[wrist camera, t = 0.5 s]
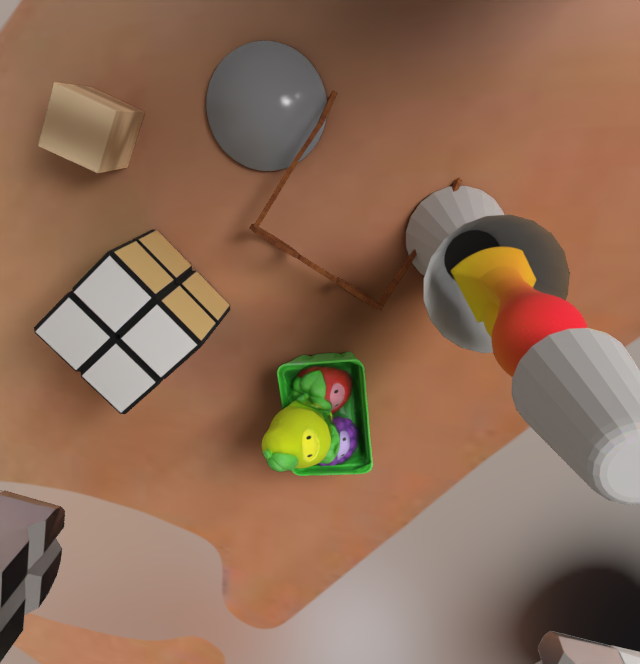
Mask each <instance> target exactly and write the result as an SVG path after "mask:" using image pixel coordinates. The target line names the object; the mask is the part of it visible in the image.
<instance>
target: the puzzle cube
mask: <svg viewBox="0 0 640 664" xmlns="http://www.w3.org/2000/svg"><path fill="white" fill-rule="evenodd" d="M189 272H190V273H189ZM229 311H230V305H229V304H228V303H227V302H226V301H225V300H224V299H223V298H222V297H221V296H220V295H219V294H218V293H217V292H216V291H215V290H214V289H213V288H212V287H211V285H210V284H209V283H208V282H207V281H206V280H205V279H204V278H203V277H202V276H201V275H200V274H199V273H198V272H197V271H192V267H191V265H190V264H189V263H188V262H187V261H186V260H185V258H184V257H183V256H182V255H181V254H180V253H179V252H178V251H177V250H176V249H175V248H174V247H173V246H172V245H171V244H170V243H169V242H168V241H167V240H166V239H165V238H164V237H163V236H162V235H161V234H160V233H159V232H158V231H157V230H151V231H149V232H147V233H145V234H143V235H141V236H139V237H137V238H135V239H133V240H132V241H129V242H127V243H125V244H123V245H121V246H119V247H117V248H114V249H112V250H110V251H108V252H107V253H106V254H105V255H104V256H103V257H102V258H101V259H100V260H99V261H98V262H97V263H96V265H95V266H94V267H93V268H92V269H91V270H90V271H89V272H88V273H87V274H86V275H85V276H84V277H83V278H82V279H81V280H80V281H79V282H78V283H77V284H76V285H75V286H74V287H73V290H72V291H71V292H69V293H67V294H66V295H65V296H64V297H63V298H62V299H61V300H60V301H59V303H58V304H57V305H56V306H55V307H54V308H53V309H52V310H51V311H50V312H49V313H48V314H47V315H46V316H45V317H44V318H43V319H42V320H41V321H40V322H39V323H38V324H37V325H36V326H35V327H34V330H35V333H36V334H37V335H38V336H39V337H40V338H41V339H42V340H43V341H44V342H45V343H46V344H47V345H48V346H49V347H50V348H51V349H53V350H54V351H55V352H56V353H57V354H58V355H59V356H60V357H61V358H62V359H63V360H64V361H65V362H66V363H67V364H68V365H69V366H71V367H72V368H73V369H74V370H75V371H80V372H81V377H82V378H83V379H84V380H85V381H86V382H87V383H88V384H89V385H90V386H91V387H92V388H94V389H95V390H96V391H97V392H98V393H99V394H100V395H101V396H102V397H103V398H104V399H105V400H106V401H107V402H108V403H109V404H110V405H112V406H113V407H114V408H115V409H116V410H117V411H118V412H119V413H120V414H126V413H127V412H128V411H129V410H130V409H132V408H133V407H134V406H135V405H136V404H137V403H138V402H139V401H141V400H142V399H143V398H144V397H145V396H146V395H147V394H148V393H150V392H151V391H152V390H153V389H154V388H155V387H156V386H157V385H159V384H160V383H161V381H162V380H163V379H165V378H166V377H168V376H169V375H170V374H171V373H172V372H173V371H174V370H175V369H177V368H178V367H179V366H180V365H181V364H182V363H183V362H184V361H186V360H187V359H188V358H189V357H190V356H191V355H192V354H193V353H195V352H196V351H197V350H198V349H199V348H200V347H201V346H202V345H203V344H204V343H205V341H206V340H207V339H208V338H209V336H210V335H211V334H212V332H213V331H214V330H215V329H216V327H217V326H218V325H219V324H220V322H221V321H222V320H223V318H224V317H225V316H226V315H227V313H228V312H229Z"/></svg>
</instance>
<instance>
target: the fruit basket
mask: <svg viewBox="0 0 640 664" xmlns="http://www.w3.org/2000/svg"><path fill="white" fill-rule="evenodd" d="M277 377H278V384H279V390H280V397H281V405H282V410H281V411H279V412H278V413H277V414H276V415H275V417H274V418H273V420H272V422H271V424H270V427H269V430H268V431H267V432H266V433H265V435H264V437H263V439H262V451H263V455H264V457H265V458H266V460H267V464H268V465H269V467H270V468H272V469H273V470H275V471H278V472H283V471H286V470H289V471H292V472H293V473H294V474H296V475H299V476H308V475H343V474H363V473H367V472H369V471H370V470H371V469H372V467H373V461H372V452H371V442H370V430H369V418H368V405H367V395H366V383H365V370H364V366H363V364H362V363H361V362H360V361H359V360H358V359H356V358H355V356H354V355H353V353H352V352H345V353H342V354H338V353H323V354H315V355H312V356H307V355H300V356H298V357H297V358H295V359H294V360H292V361H291V362H287V363H285V364H283V365H281V366H280V367H279V368H278V370H277Z"/></svg>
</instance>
